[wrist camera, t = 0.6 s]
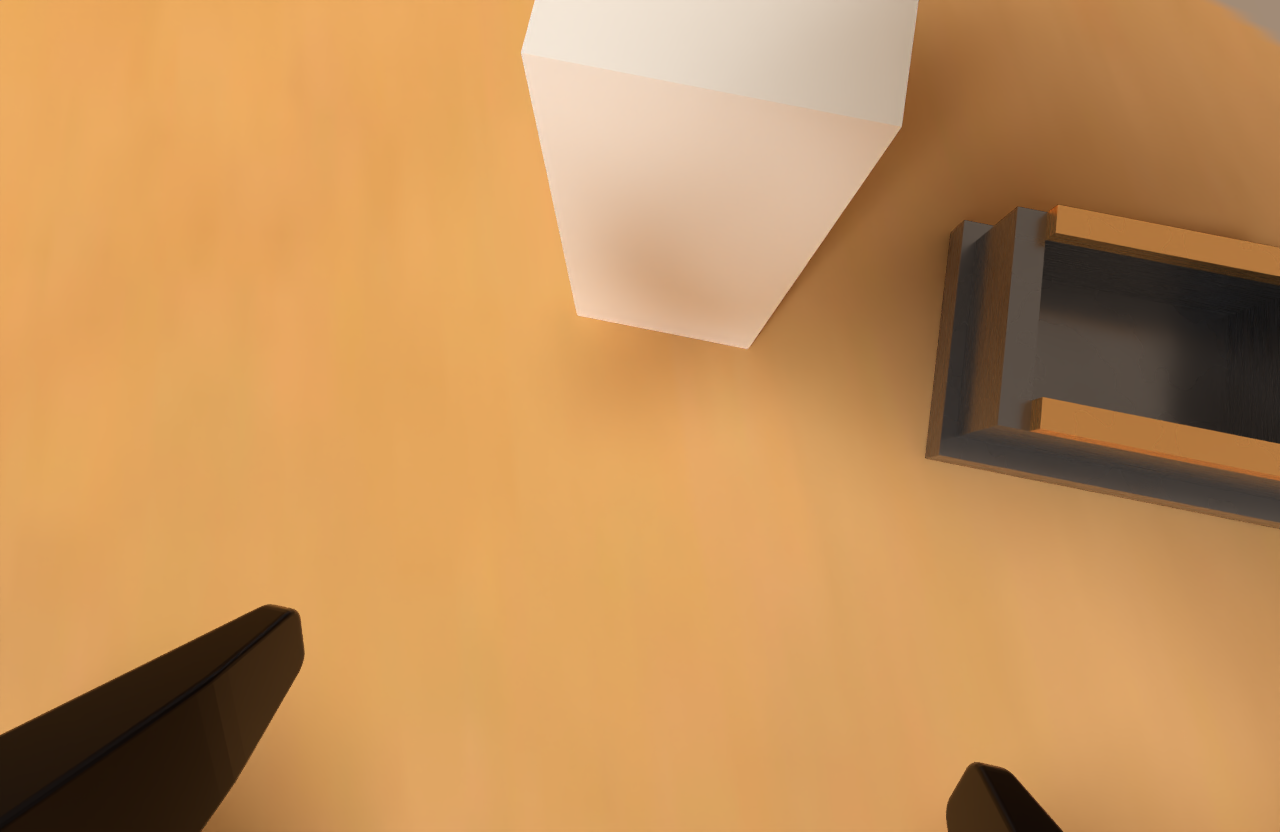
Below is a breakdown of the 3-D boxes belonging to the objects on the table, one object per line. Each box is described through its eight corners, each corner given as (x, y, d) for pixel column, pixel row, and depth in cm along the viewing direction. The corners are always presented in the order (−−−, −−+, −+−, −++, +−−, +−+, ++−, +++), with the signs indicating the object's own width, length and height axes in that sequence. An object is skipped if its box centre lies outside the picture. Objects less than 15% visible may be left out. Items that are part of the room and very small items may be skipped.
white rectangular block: (748, 349, 23) (901, 126, 10) (577, 315, 23) (521, 52, 10) (762, 262, 24) (924, -47, 11) (596, 230, 24) (565, -117, 11)
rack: (1499, 572, 22) (1687, 581, 18) (925, 458, 23) (988, 443, 19) (1486, 337, 24) (1655, 299, 20) (950, 232, 24) (1014, 174, 20)
